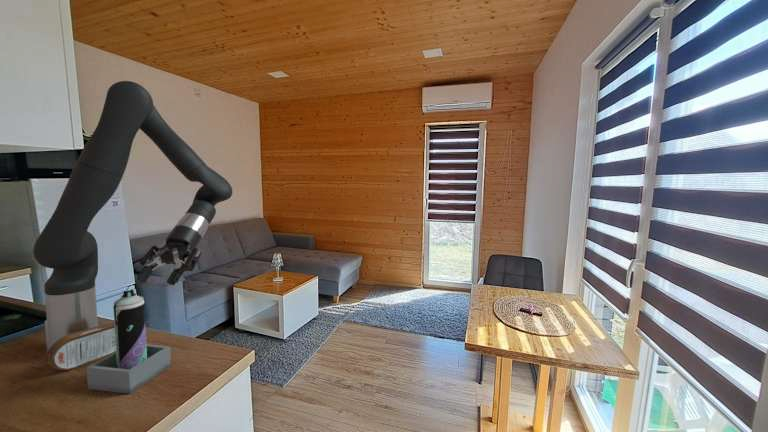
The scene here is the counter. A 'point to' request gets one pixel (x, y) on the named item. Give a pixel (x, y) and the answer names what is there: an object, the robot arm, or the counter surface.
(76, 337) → the tin
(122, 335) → the spray can
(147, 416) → the counter surface
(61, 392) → the counter surface
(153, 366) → the box
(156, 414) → the counter surface
